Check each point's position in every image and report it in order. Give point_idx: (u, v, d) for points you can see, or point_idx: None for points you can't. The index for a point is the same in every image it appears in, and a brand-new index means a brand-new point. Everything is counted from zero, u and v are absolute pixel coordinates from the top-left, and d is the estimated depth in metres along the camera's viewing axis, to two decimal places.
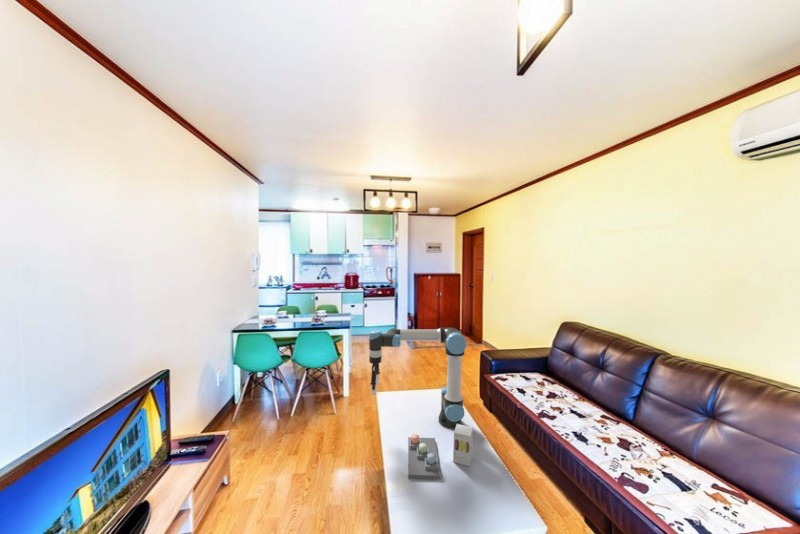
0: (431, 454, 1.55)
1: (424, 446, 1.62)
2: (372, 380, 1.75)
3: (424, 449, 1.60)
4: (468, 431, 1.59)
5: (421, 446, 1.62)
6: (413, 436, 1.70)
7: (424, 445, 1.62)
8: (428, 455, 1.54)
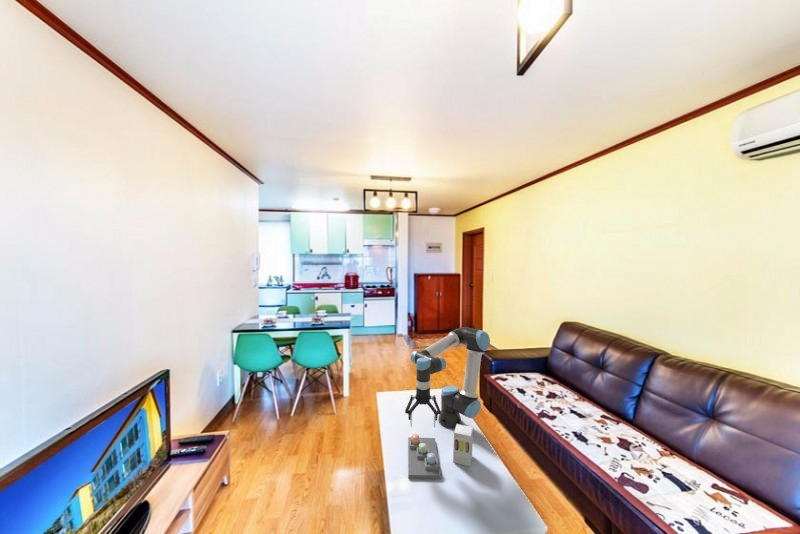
0: (431, 454, 1.55)
1: (424, 446, 1.62)
2: (406, 407, 1.62)
3: (424, 449, 1.60)
4: (468, 431, 1.59)
5: (421, 446, 1.62)
6: (413, 436, 1.70)
7: (424, 445, 1.62)
8: (428, 455, 1.54)
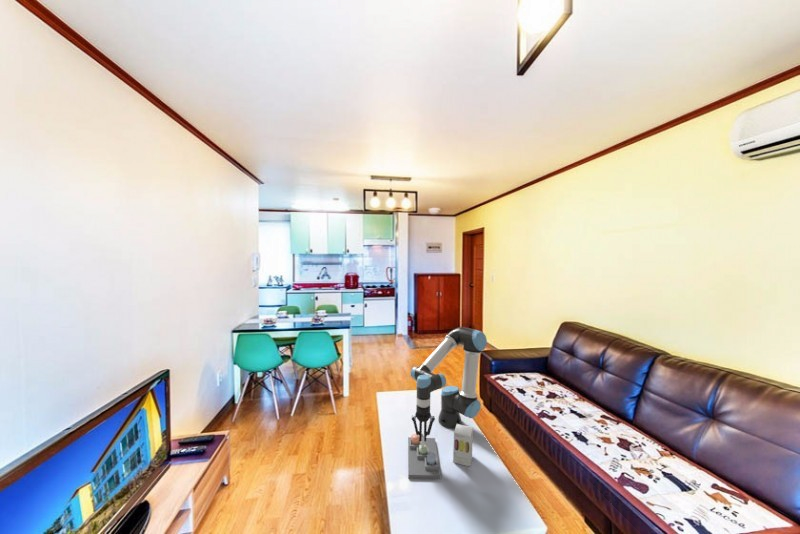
0: (431, 454, 1.55)
1: (424, 447, 1.62)
2: (415, 429, 1.62)
3: (424, 450, 1.60)
4: (468, 431, 1.59)
5: None
6: (413, 436, 1.70)
7: (424, 446, 1.62)
8: (428, 455, 1.54)
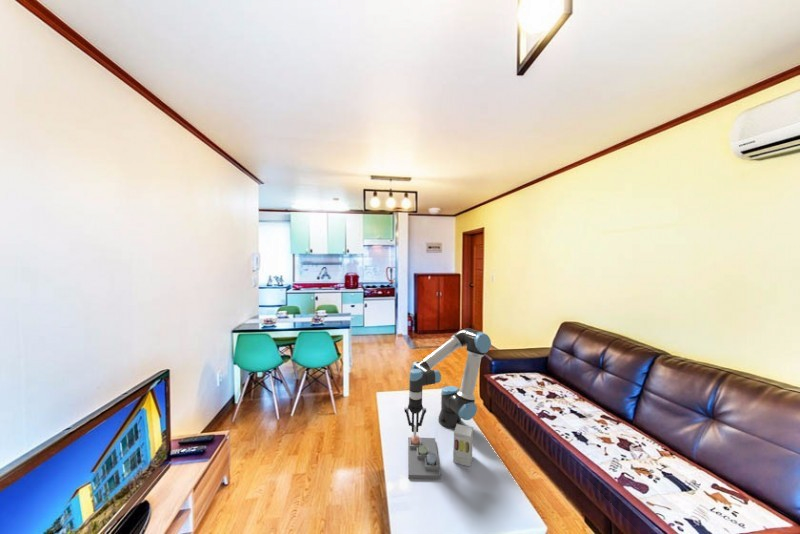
0: (431, 454, 1.55)
1: (424, 448, 1.62)
2: (408, 420, 1.71)
3: (424, 451, 1.60)
4: (468, 431, 1.59)
5: (421, 448, 1.62)
6: (413, 437, 1.70)
7: (424, 447, 1.62)
8: (428, 455, 1.54)
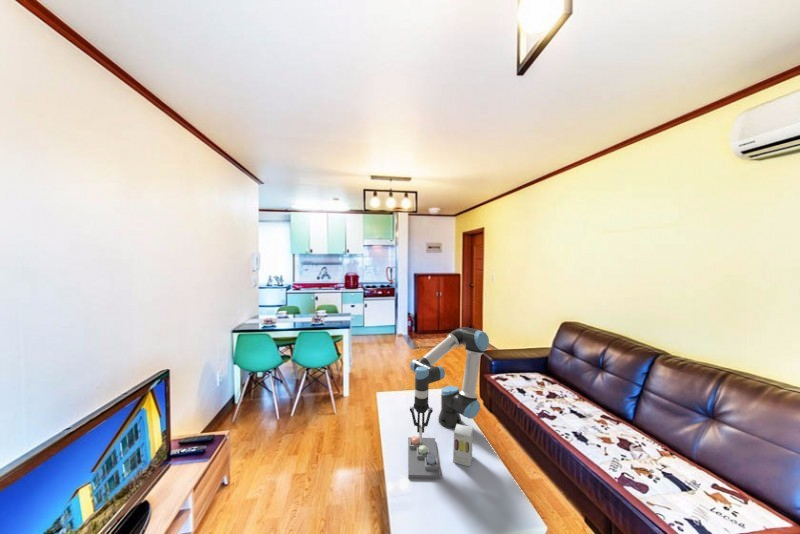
0: (431, 454, 1.55)
1: (424, 448, 1.62)
2: None
3: (424, 451, 1.60)
4: (468, 431, 1.59)
5: (421, 448, 1.62)
6: (413, 438, 1.70)
7: (424, 447, 1.62)
8: (428, 455, 1.54)
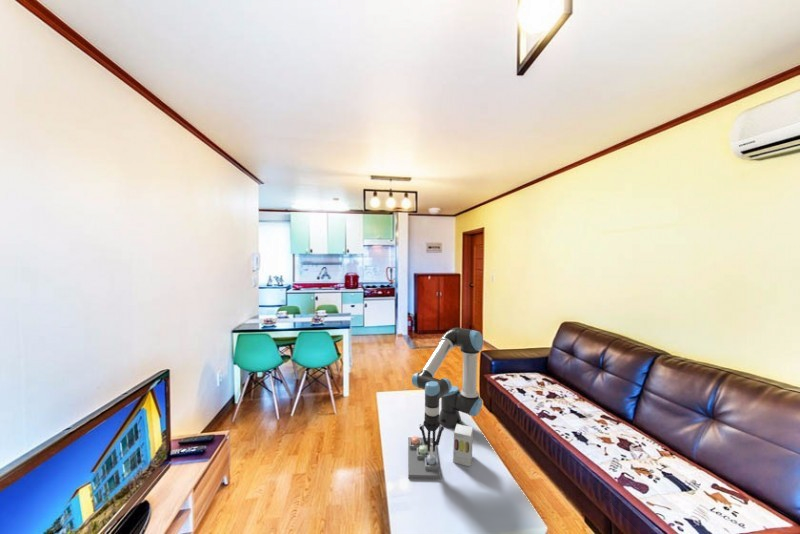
0: None
1: (424, 448, 1.62)
2: None
3: (424, 451, 1.60)
4: (468, 431, 1.59)
5: (421, 448, 1.62)
6: (413, 438, 1.70)
7: (424, 447, 1.62)
8: (428, 457, 1.54)
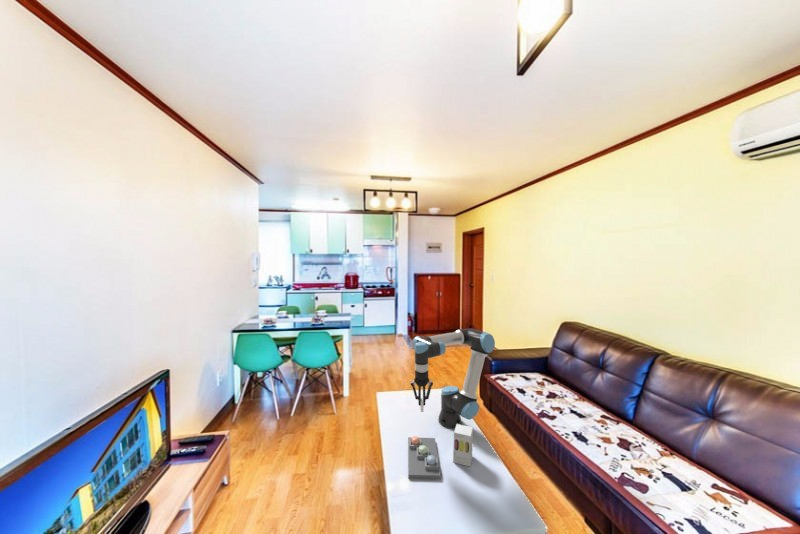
0: (431, 456, 1.55)
1: (424, 448, 1.62)
2: None
3: (424, 451, 1.60)
4: (468, 431, 1.59)
5: (421, 448, 1.62)
6: (413, 438, 1.70)
7: (424, 447, 1.62)
8: (428, 457, 1.54)
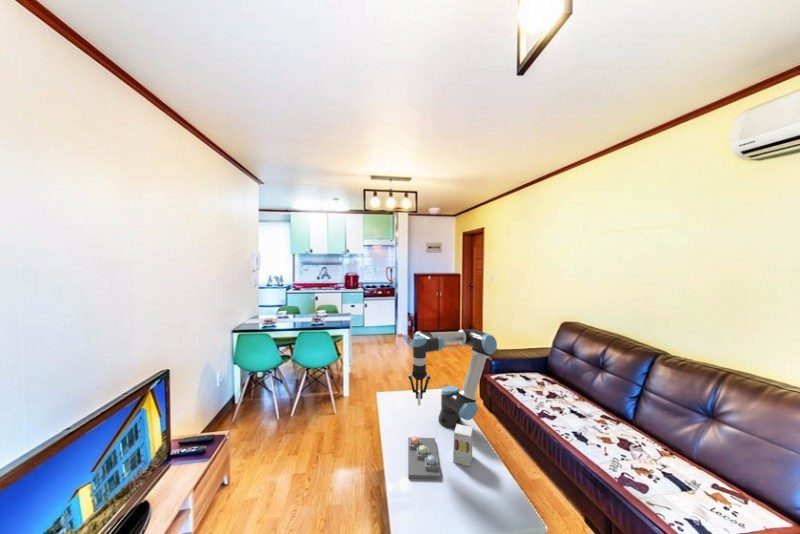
0: (431, 456, 1.55)
1: (424, 448, 1.62)
2: (412, 387, 1.70)
3: (424, 451, 1.60)
4: (468, 431, 1.59)
5: (421, 448, 1.62)
6: (413, 438, 1.70)
7: (424, 447, 1.62)
8: (428, 457, 1.54)
